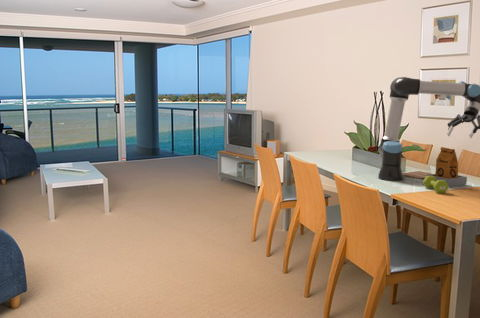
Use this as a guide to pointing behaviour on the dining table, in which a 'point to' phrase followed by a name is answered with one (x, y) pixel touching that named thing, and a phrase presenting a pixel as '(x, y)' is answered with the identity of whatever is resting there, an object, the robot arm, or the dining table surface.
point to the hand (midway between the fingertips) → (459, 135)
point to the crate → (453, 180)
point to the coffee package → (447, 164)
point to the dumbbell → (435, 184)
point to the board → (416, 174)
